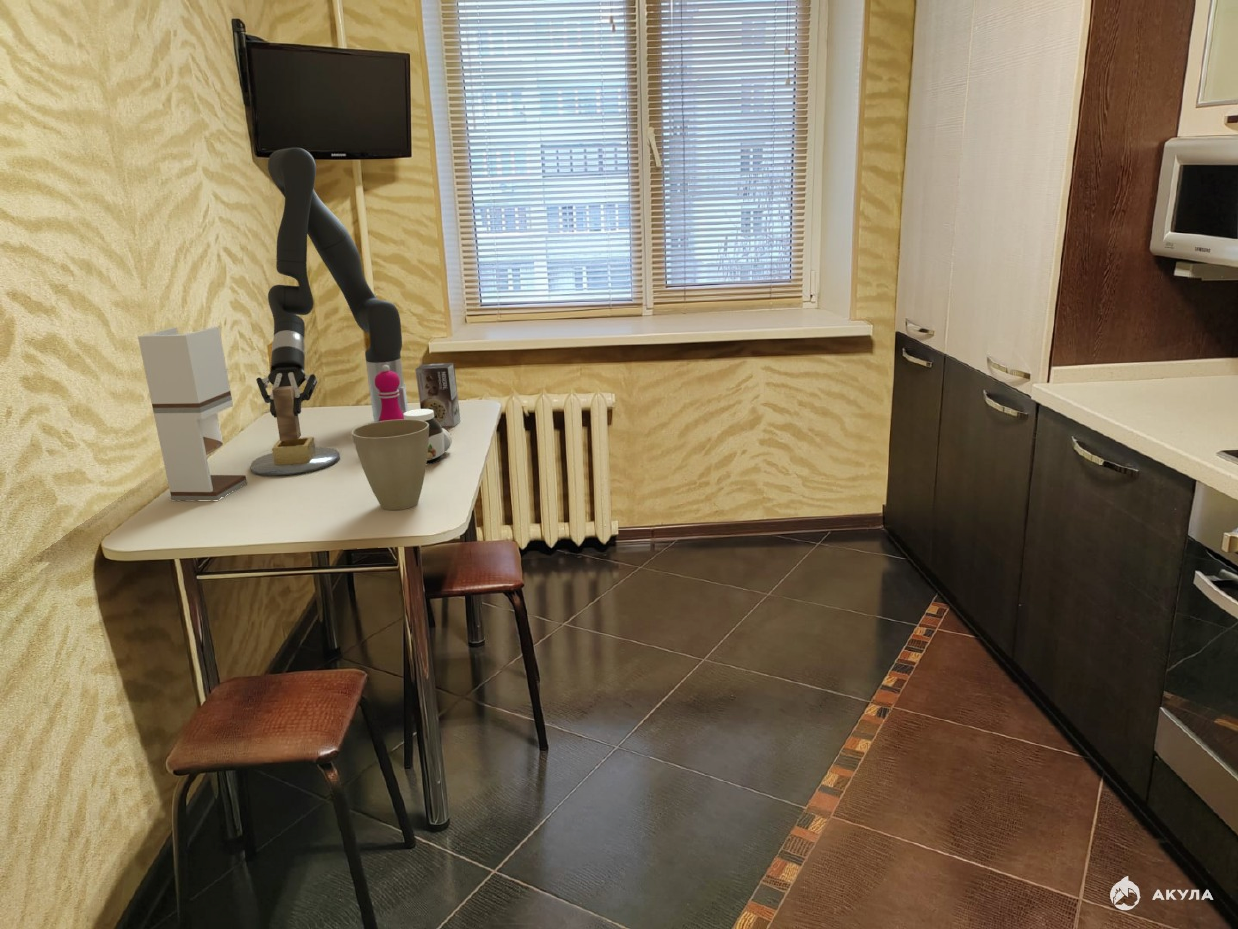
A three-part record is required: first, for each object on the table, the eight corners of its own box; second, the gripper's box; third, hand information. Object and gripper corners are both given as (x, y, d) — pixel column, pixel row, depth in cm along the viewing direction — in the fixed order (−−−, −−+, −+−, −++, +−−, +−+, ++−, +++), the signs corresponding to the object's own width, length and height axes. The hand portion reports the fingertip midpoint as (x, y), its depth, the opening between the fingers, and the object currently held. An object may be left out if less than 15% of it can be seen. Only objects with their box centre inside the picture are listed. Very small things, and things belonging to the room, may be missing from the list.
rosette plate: (345, 448, 225) (342, 428, 224) (333, 472, 207) (330, 450, 205) (262, 455, 223) (258, 435, 221) (242, 480, 204) (238, 458, 202)
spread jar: (402, 467, 207) (396, 418, 204) (402, 454, 218) (396, 407, 215) (455, 461, 210) (450, 413, 206) (452, 449, 220) (447, 402, 217)
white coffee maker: (217, 501, 190) (185, 335, 180) (171, 500, 192) (137, 336, 182) (247, 483, 201) (218, 326, 191) (203, 483, 203) (173, 327, 193)
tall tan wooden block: (301, 435, 215) (293, 385, 211) (297, 439, 211) (290, 389, 208) (283, 436, 214) (276, 386, 211) (280, 440, 211) (272, 390, 207)
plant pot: (448, 505, 181) (440, 428, 176) (375, 522, 173) (364, 442, 169) (422, 487, 193) (413, 414, 188) (352, 502, 186) (342, 427, 181)
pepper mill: (374, 446, 226) (363, 367, 220) (391, 438, 232) (381, 361, 227) (398, 448, 223) (388, 368, 217) (415, 440, 230) (406, 362, 224)
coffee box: (461, 420, 247) (455, 362, 242) (454, 426, 241) (448, 367, 236) (428, 421, 248) (422, 363, 243) (421, 427, 242) (414, 368, 237)
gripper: (253, 346, 213) (248, 408, 205) (315, 343, 215) (313, 404, 207) (261, 365, 219) (257, 425, 212) (322, 361, 221) (320, 421, 213)
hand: (285, 414), depth 209 cm, fingers closed on tall tan wooden block, 4 cm apart
